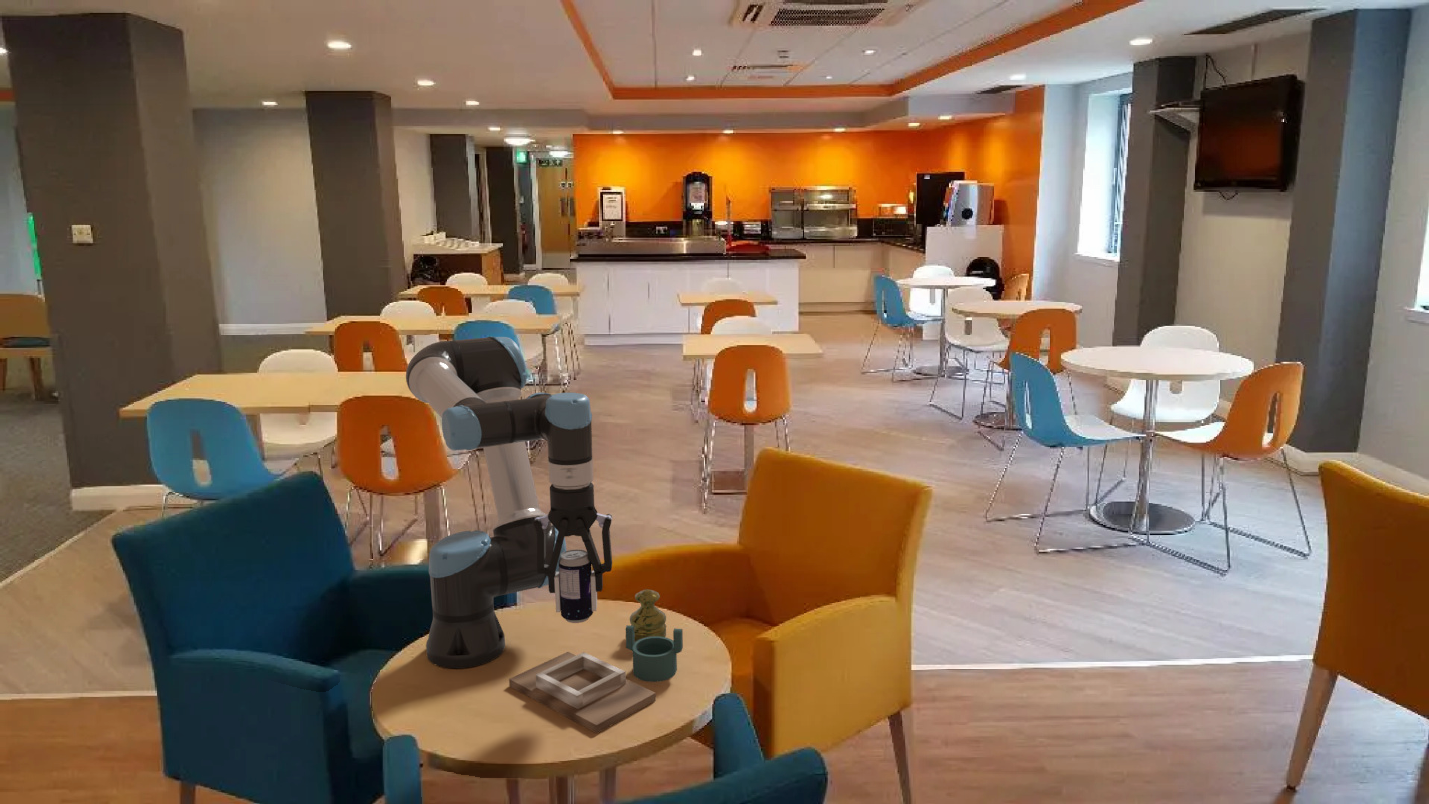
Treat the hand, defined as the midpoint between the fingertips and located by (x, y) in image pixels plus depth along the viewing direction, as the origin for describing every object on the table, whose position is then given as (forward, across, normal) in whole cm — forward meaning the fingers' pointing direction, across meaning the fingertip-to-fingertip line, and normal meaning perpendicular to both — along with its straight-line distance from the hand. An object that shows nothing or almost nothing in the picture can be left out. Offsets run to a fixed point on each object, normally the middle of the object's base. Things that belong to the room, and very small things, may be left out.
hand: (576, 608), depth 172 cm
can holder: (+17, 0, 0) cm, 17 cm away
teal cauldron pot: (+17, +14, +8) cm, 23 cm away
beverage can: (+2, 0, 0) cm, 2 cm away
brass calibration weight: (+17, +12, +22) cm, 30 cm away
